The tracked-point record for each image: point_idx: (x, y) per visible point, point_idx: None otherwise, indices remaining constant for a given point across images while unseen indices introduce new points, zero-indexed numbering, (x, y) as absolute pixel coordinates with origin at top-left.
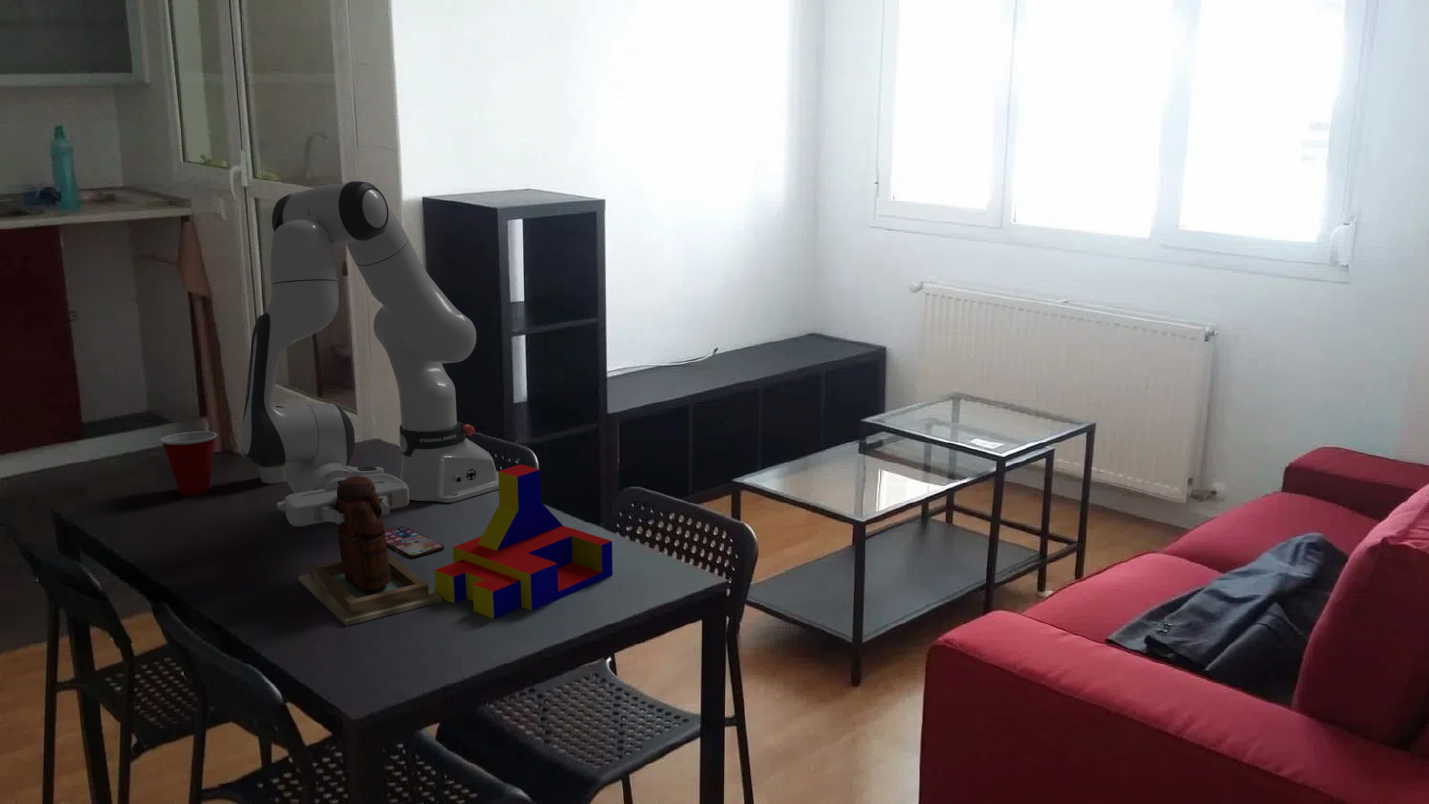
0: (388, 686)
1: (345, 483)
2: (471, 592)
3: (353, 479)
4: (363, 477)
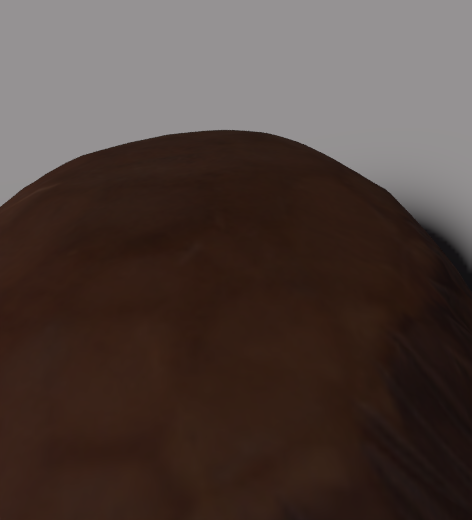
0: None
1: (376, 186)
2: None
3: (249, 137)
4: (85, 156)
